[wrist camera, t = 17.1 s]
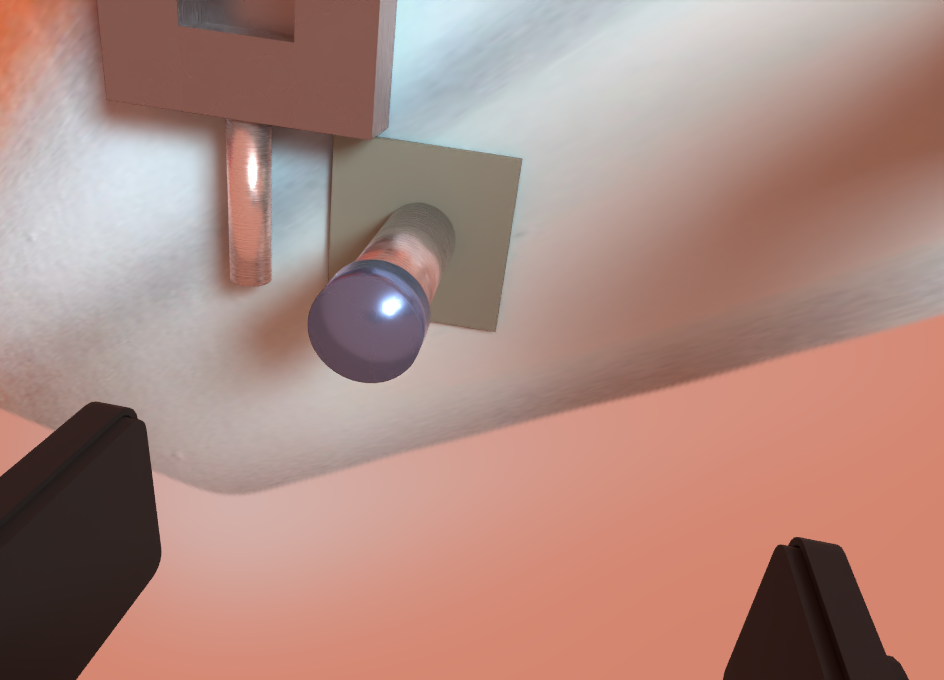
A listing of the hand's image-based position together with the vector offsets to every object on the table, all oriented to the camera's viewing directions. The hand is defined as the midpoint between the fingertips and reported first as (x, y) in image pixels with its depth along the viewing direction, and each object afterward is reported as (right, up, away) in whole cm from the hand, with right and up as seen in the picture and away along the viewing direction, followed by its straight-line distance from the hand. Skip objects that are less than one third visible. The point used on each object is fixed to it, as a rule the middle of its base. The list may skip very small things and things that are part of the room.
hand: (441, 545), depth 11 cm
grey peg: (-2, +8, +26) cm, 27 cm away
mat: (-2, +8, +26) cm, 27 cm away
